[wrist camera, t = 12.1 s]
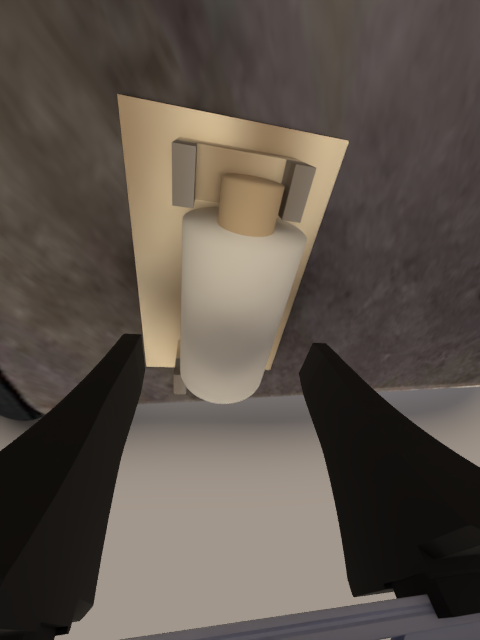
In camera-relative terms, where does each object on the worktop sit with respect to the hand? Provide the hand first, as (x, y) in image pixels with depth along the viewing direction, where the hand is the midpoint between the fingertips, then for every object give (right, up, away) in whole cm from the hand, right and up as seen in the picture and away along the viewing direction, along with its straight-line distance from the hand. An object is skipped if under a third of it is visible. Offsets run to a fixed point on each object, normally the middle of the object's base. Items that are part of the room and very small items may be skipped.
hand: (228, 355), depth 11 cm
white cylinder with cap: (-1, +4, +4) cm, 6 cm away
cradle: (-1, +4, +5) cm, 7 cm away
